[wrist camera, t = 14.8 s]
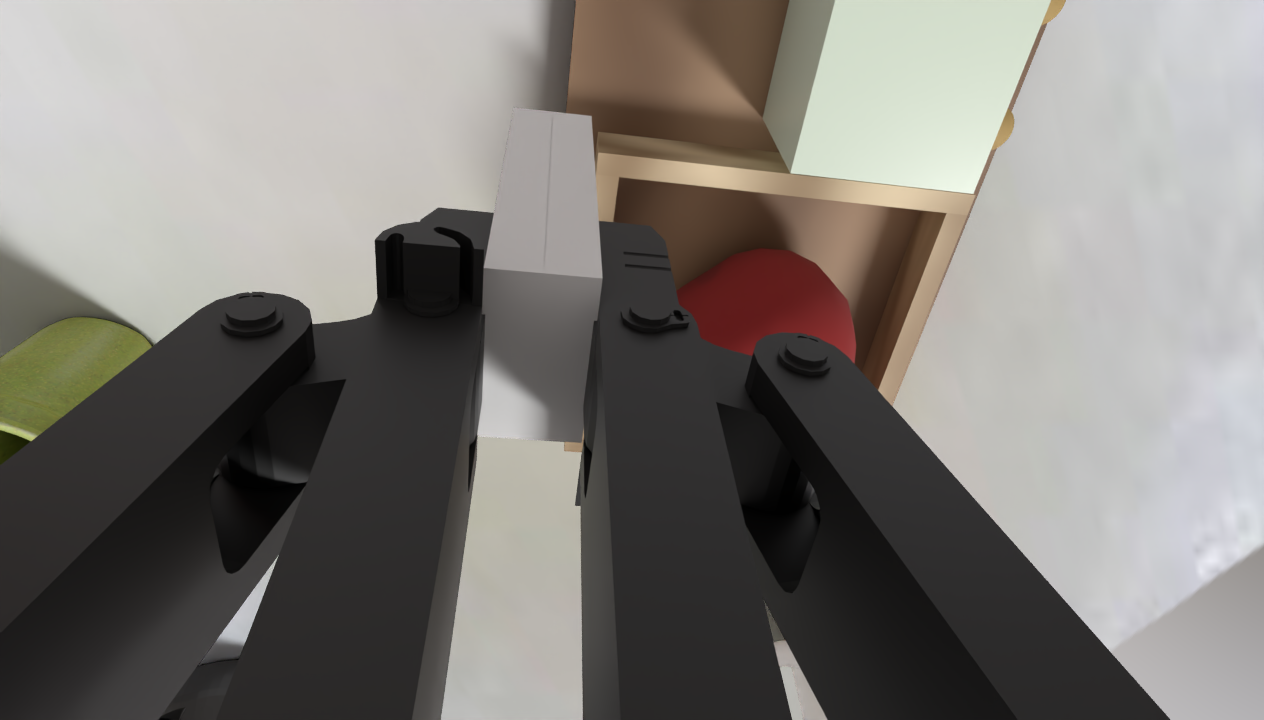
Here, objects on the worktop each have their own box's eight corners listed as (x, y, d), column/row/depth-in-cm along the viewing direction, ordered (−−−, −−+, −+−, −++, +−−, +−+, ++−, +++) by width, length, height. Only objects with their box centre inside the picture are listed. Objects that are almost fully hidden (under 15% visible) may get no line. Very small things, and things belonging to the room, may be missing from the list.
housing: (762, 118, 29) (790, 173, 25) (813, -103, 25) (855, -80, 21) (921, 137, 30) (973, 194, 26) (995, -75, 26) (1070, -48, 22)
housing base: (539, 406, 38) (535, 468, 35) (595, -218, 24) (595, -218, 21) (868, 431, 40) (894, 492, 37) (1091, -137, 26) (1166, -124, 23)
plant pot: (7, 433, 38) (-127, 584, 31) (-31, 257, 33) (-202, 390, 26) (221, 467, 39) (140, 617, 32) (218, 305, 34) (121, 442, 27)
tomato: (609, 322, 34) (613, 435, 28) (742, 181, 31) (778, 276, 25) (745, 413, 37) (775, 531, 31) (880, 294, 34) (940, 403, 28)
